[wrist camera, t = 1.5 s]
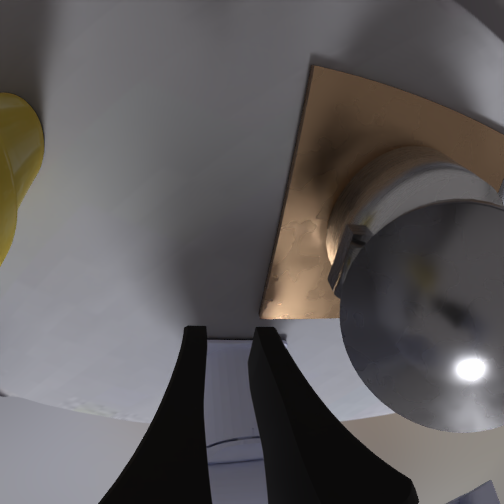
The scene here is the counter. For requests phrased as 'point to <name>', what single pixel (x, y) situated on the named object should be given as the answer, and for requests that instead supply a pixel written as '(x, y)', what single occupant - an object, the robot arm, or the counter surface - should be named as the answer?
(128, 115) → the counter surface
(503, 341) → the cooker lid
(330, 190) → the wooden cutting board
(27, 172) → the plant pot
